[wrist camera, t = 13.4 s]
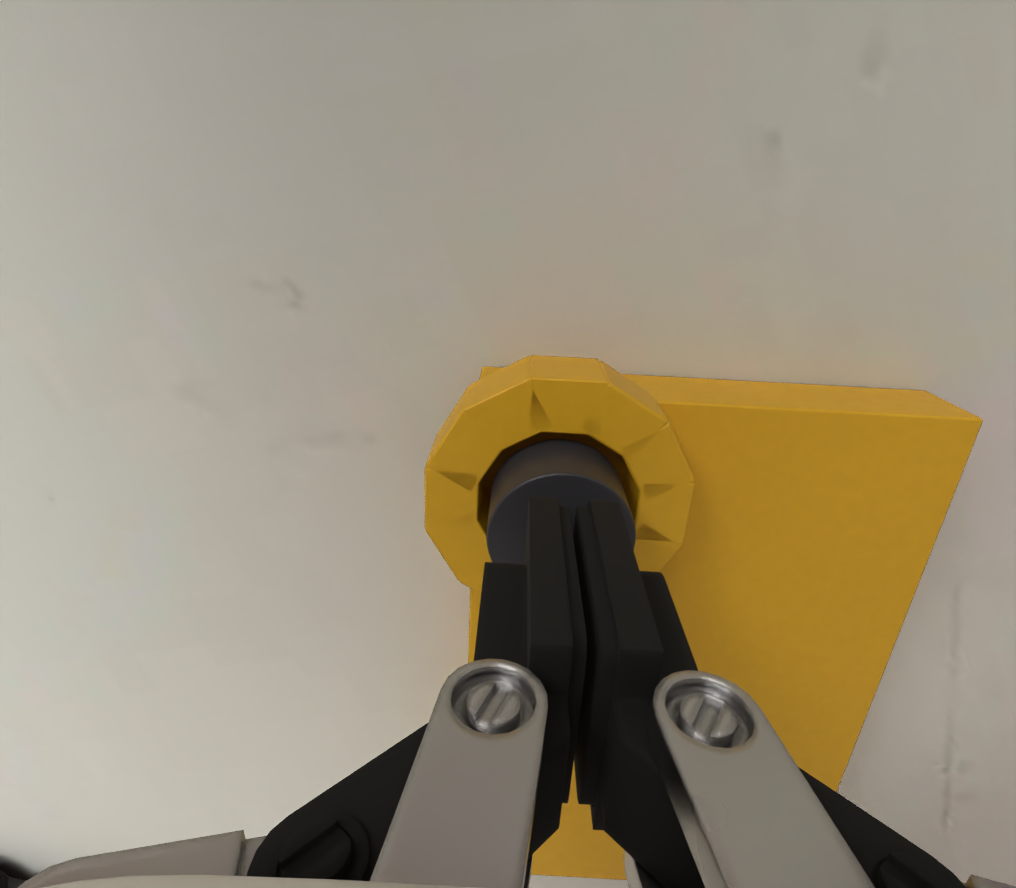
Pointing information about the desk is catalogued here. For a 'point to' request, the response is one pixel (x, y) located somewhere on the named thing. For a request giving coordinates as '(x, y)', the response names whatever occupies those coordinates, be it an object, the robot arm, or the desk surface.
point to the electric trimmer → (9, 881)
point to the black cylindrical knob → (548, 491)
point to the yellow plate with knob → (730, 530)
